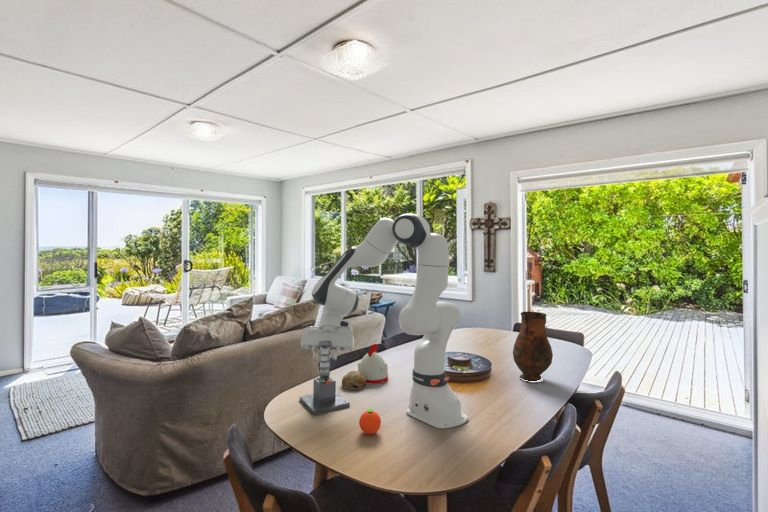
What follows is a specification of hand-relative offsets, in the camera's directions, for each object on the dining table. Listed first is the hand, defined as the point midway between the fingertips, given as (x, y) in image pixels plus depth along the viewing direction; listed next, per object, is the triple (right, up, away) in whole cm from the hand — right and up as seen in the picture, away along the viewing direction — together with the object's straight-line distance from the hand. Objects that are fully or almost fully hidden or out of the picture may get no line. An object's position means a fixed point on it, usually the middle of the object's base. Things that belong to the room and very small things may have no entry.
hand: (324, 359), depth 141 cm
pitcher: (+90, -18, +32) cm, 97 cm away
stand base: (0, -17, +1) cm, 17 cm away
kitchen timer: (+17, -17, +29) cm, 37 cm away
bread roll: (+9, -17, +20) cm, 27 cm away
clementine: (+18, -18, -19) cm, 32 cm away
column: (0, -11, +1) cm, 11 cm away
